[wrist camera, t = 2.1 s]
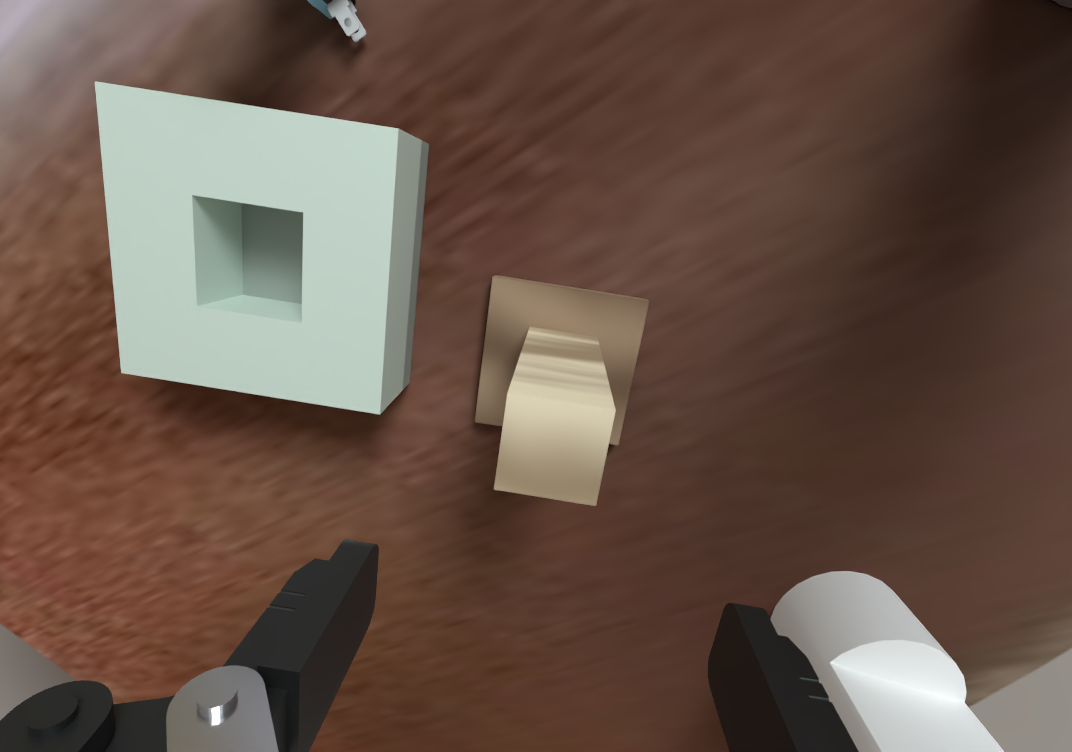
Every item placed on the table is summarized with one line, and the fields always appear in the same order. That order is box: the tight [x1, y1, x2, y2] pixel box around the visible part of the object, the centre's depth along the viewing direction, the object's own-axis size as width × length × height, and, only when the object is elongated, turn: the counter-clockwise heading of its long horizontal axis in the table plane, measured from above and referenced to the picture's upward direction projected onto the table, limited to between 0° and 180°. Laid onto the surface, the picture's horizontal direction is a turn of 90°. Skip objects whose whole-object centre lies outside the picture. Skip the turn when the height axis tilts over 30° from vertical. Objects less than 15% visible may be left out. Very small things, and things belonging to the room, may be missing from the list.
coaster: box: [475, 275, 649, 445], centre depth 32 cm, size 9×9×1 cm
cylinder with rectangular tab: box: [770, 571, 1004, 752], centre depth 31 cm, size 9×9×12 cm
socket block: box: [95, 82, 429, 414], centre depth 29 cm, size 14×14×6 cm
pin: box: [494, 327, 616, 506], centre depth 26 cm, size 4×4×12 cm
